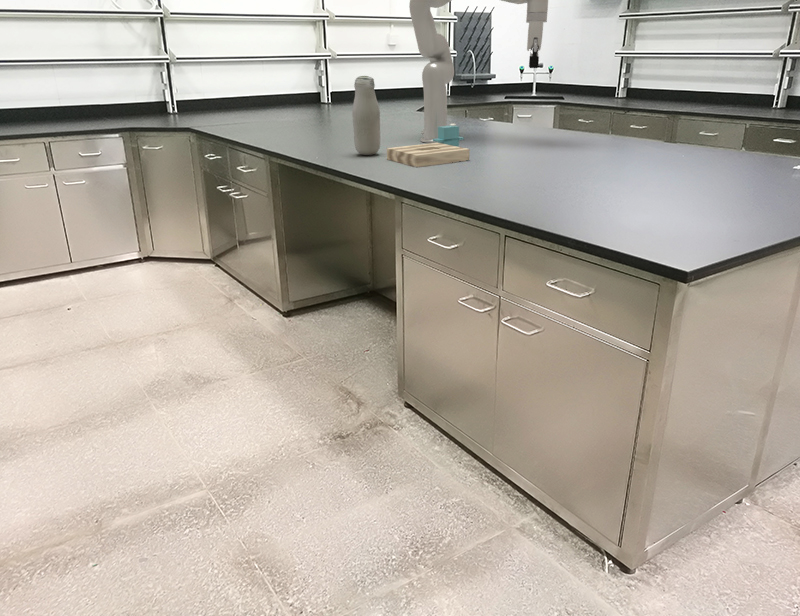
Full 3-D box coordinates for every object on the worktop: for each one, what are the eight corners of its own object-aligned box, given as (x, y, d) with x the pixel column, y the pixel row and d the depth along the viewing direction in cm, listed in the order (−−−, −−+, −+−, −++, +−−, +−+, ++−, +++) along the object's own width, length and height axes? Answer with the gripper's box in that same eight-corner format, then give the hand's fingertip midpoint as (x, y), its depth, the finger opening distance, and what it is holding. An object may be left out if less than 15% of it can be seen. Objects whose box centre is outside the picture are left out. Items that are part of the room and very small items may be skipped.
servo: (432, 151, 241) (432, 125, 237) (457, 148, 246) (457, 122, 243) (438, 152, 238) (438, 126, 234) (463, 149, 243) (464, 123, 239)
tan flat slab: (386, 159, 226) (386, 148, 225) (437, 153, 237) (437, 142, 235) (416, 167, 210) (416, 155, 209) (469, 160, 221) (469, 149, 219)
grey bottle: (382, 152, 240) (380, 74, 230) (378, 157, 231) (376, 76, 220) (356, 152, 241) (353, 75, 231) (352, 157, 232) (348, 76, 221)
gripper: (526, 19, 241) (523, 66, 248) (526, 17, 225) (523, 68, 232) (546, 18, 240) (542, 66, 246) (548, 17, 224) (544, 68, 231)
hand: (533, 67), depth 239 cm, fingers open, 9 cm apart
